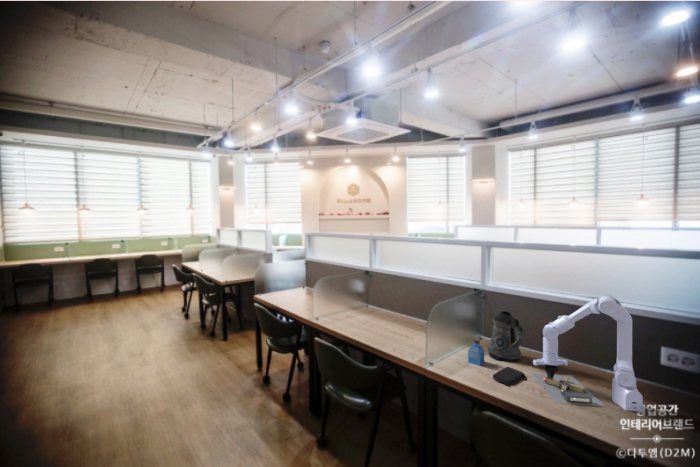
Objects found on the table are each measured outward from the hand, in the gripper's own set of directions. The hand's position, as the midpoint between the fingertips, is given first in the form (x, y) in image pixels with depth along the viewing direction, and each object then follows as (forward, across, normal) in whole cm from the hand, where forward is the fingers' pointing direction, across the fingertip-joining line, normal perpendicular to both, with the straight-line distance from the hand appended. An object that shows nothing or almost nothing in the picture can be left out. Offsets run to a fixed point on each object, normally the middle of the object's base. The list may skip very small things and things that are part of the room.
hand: (550, 380), depth 139 cm
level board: (+2, -3, +5) cm, 6 cm away
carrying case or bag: (+2, +16, -4) cm, 17 cm away
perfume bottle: (+2, +26, -21) cm, 33 cm away
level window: (+1, -2, +15) cm, 15 cm away
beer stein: (+2, +7, -26) cm, 27 cm away
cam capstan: (+1, -3, +5) cm, 6 cm away
